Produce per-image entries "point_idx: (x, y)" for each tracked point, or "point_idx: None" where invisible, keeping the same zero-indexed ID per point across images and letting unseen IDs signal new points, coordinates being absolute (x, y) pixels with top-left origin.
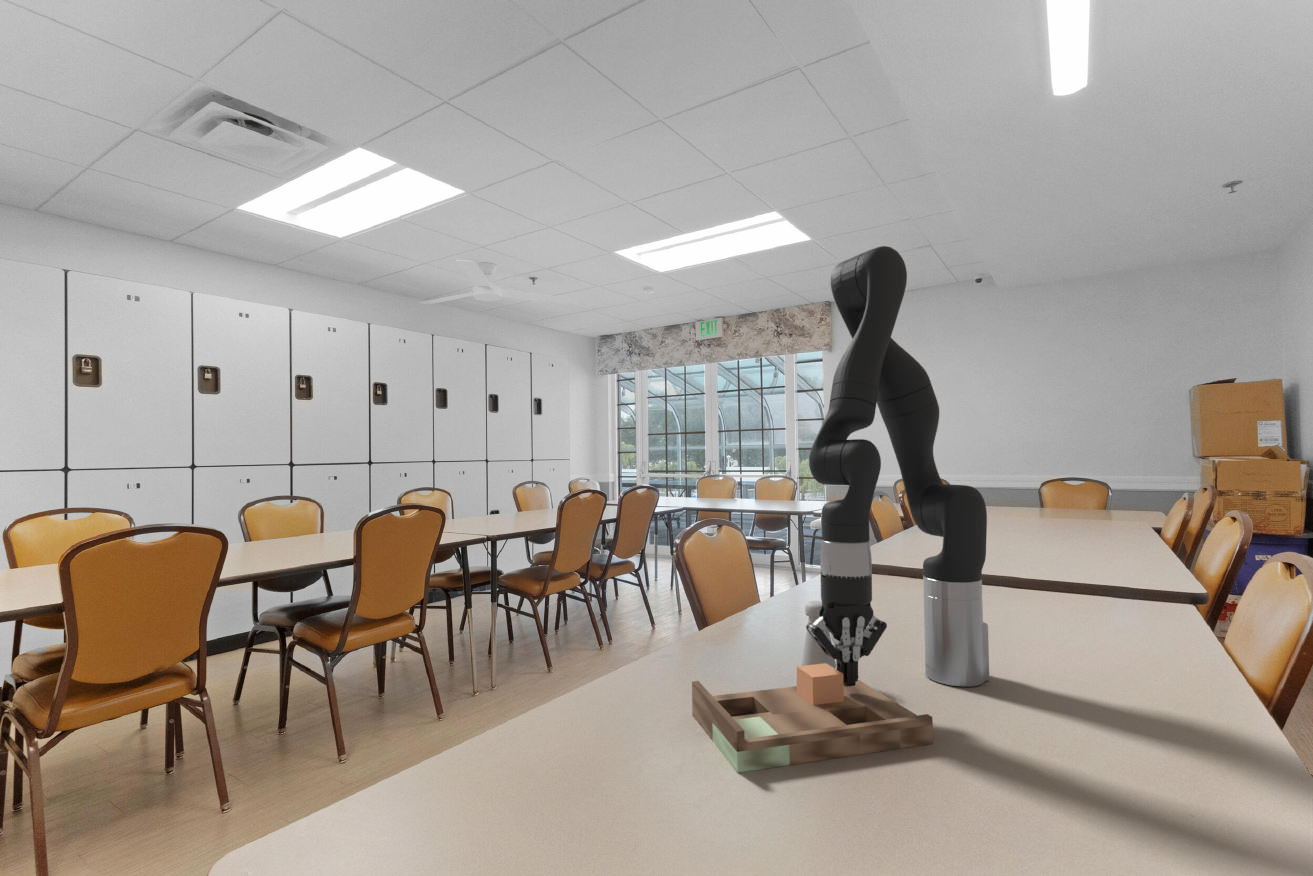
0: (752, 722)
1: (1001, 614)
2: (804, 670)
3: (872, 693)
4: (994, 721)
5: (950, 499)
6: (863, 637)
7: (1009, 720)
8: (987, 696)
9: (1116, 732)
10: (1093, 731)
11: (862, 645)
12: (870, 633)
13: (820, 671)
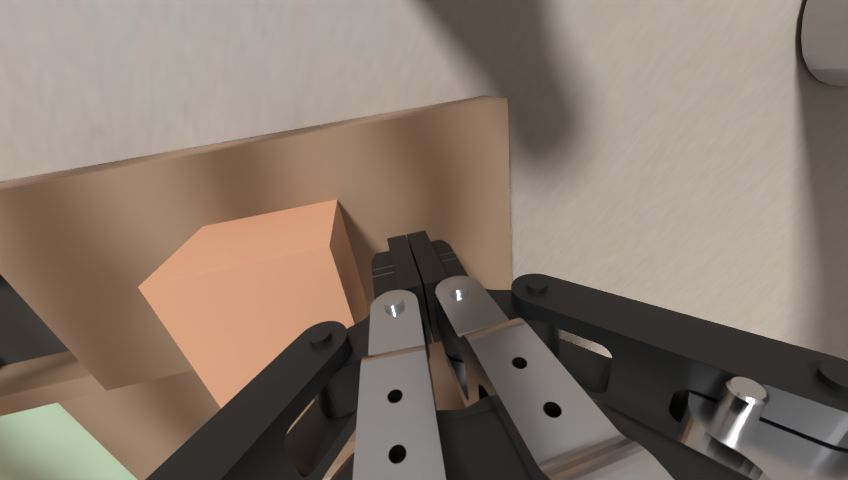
0: (37, 434)
1: None
2: (186, 341)
3: (485, 246)
4: (680, 291)
5: None
6: (606, 341)
7: (708, 287)
8: (803, 157)
9: (801, 329)
10: (778, 326)
11: (554, 333)
12: (651, 409)
13: (271, 350)
